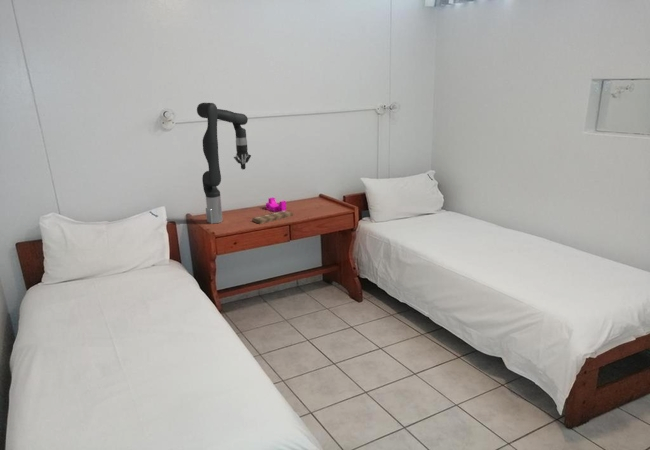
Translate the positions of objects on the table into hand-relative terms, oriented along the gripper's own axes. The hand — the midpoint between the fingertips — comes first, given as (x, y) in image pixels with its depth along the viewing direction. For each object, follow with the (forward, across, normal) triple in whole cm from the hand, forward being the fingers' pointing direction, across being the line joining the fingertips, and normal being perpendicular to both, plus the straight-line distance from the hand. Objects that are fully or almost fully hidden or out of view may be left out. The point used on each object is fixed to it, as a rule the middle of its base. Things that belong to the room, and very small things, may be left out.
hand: (243, 169), depth 323 cm
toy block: (+30, +14, -16) cm, 37 cm away
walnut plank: (+29, +1, -31) cm, 42 cm away
